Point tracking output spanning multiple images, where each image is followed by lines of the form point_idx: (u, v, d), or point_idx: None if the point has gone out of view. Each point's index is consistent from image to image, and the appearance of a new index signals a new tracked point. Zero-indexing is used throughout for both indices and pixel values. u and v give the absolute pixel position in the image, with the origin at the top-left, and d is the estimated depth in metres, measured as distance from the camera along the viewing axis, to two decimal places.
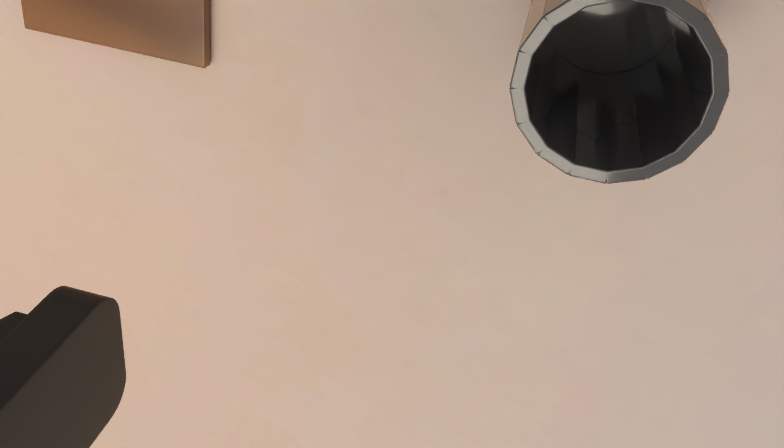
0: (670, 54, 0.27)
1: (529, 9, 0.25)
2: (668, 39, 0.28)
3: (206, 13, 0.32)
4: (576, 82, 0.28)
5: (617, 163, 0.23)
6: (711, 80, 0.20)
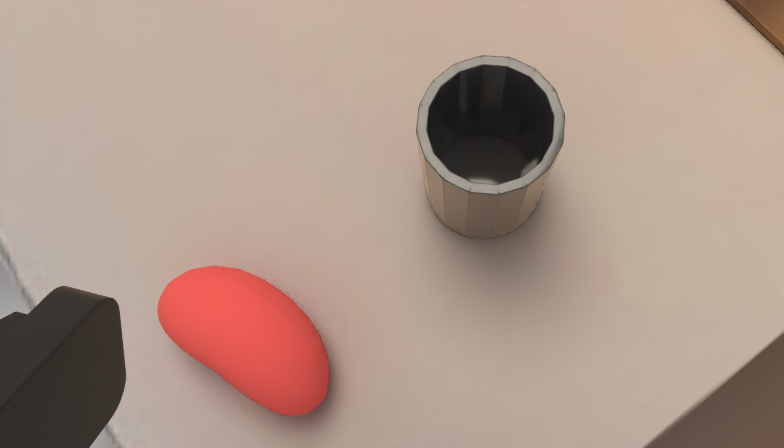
0: None
1: None
2: None
3: None
4: (462, 127, 0.37)
5: (437, 97, 0.31)
6: (458, 175, 0.29)
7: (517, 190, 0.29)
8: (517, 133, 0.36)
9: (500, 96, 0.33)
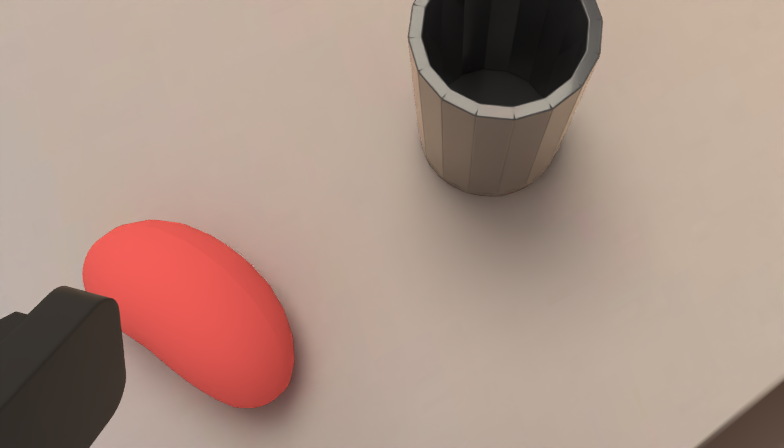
0: None
1: None
2: None
3: None
4: (465, 56, 0.30)
5: None
6: (461, 94, 0.22)
7: (539, 115, 0.22)
8: (534, 64, 0.29)
9: (516, 8, 0.26)
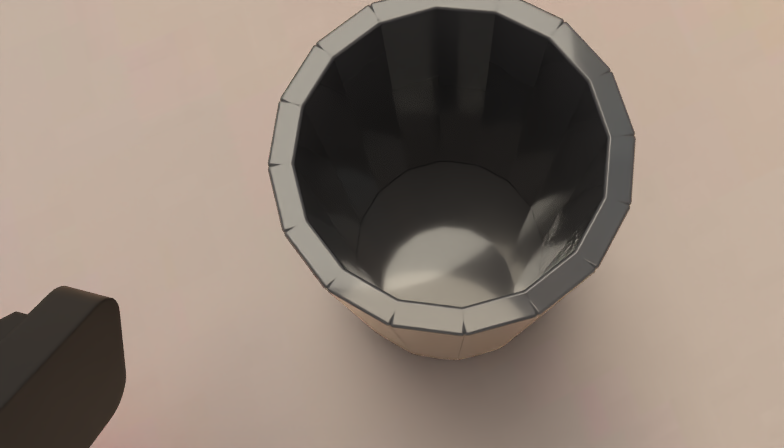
0: (356, 271, 0.19)
1: None
2: None
3: None
4: (408, 149, 0.19)
5: (329, 82, 0.13)
6: (363, 280, 0.12)
7: (512, 323, 0.11)
8: (515, 163, 0.19)
9: (481, 88, 0.16)
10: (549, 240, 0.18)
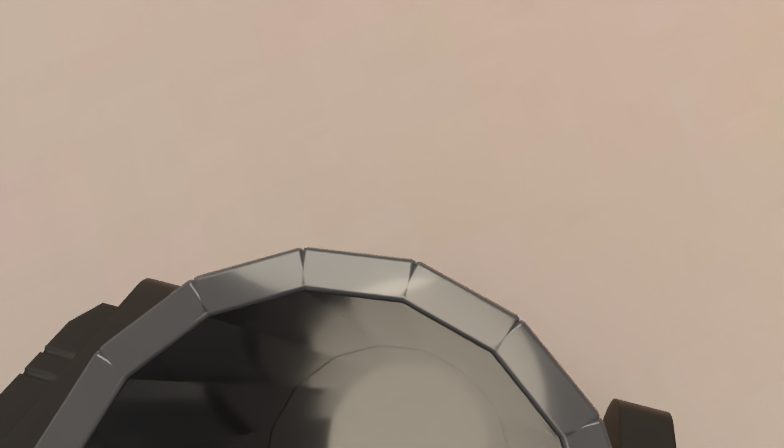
0: None
1: None
2: None
3: None
4: (327, 351, 0.14)
5: (128, 404, 0.08)
6: None
7: None
8: (472, 377, 0.14)
9: (408, 330, 0.10)
10: None
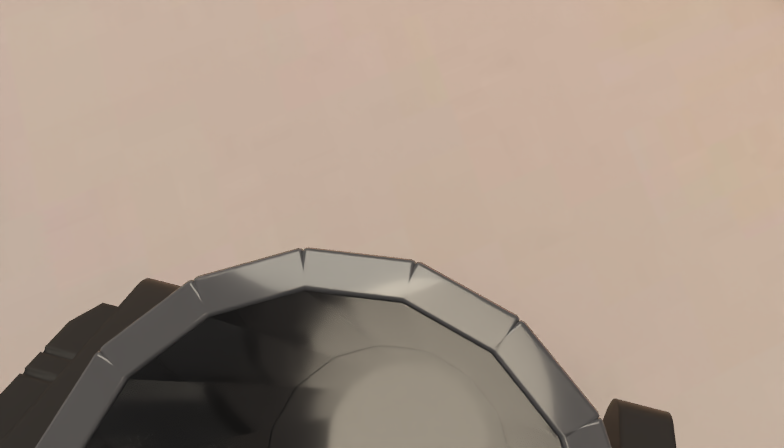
0: None
1: None
2: None
3: None
4: (327, 351, 0.14)
5: (128, 404, 0.08)
6: None
7: None
8: (472, 377, 0.14)
9: (408, 330, 0.10)
10: None
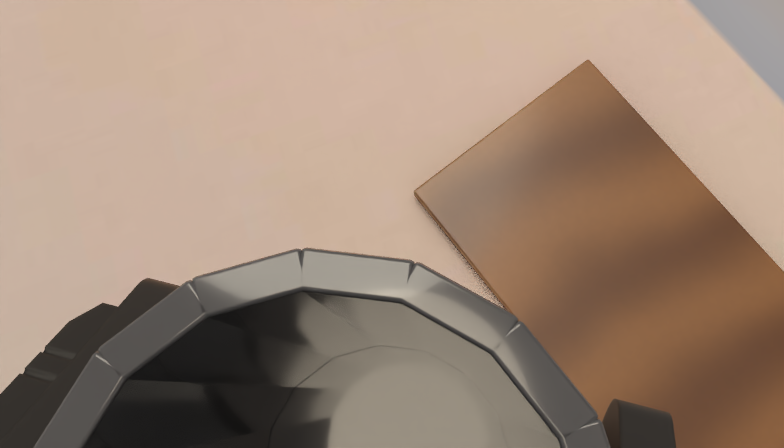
0: None
1: None
2: None
3: (452, 240, 0.29)
4: (326, 352, 0.14)
5: (127, 405, 0.08)
6: None
7: None
8: (472, 377, 0.14)
9: (407, 330, 0.10)
10: None
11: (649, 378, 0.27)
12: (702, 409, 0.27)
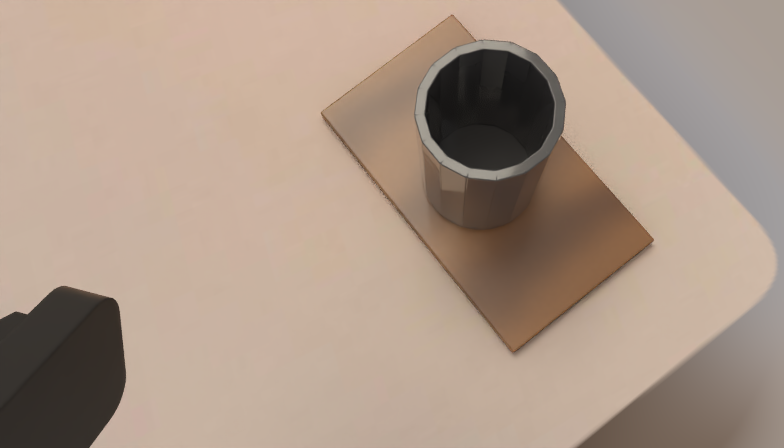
0: None
1: None
2: None
3: (348, 148, 0.39)
4: (460, 116, 0.36)
5: (436, 80, 0.30)
6: (455, 160, 0.29)
7: (515, 177, 0.29)
8: (516, 123, 0.36)
9: (500, 83, 0.33)
10: None
11: (487, 242, 0.37)
12: (524, 264, 0.37)
